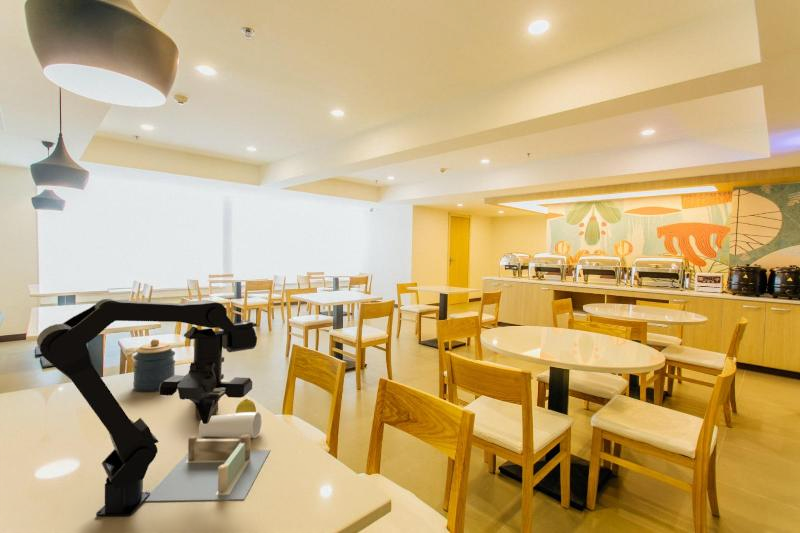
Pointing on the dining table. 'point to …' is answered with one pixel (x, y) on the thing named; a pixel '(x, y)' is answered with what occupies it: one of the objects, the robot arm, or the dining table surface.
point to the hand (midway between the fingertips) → (206, 423)
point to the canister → (153, 366)
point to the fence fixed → (215, 448)
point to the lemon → (246, 406)
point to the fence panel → (230, 467)
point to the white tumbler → (232, 425)
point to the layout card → (207, 480)
